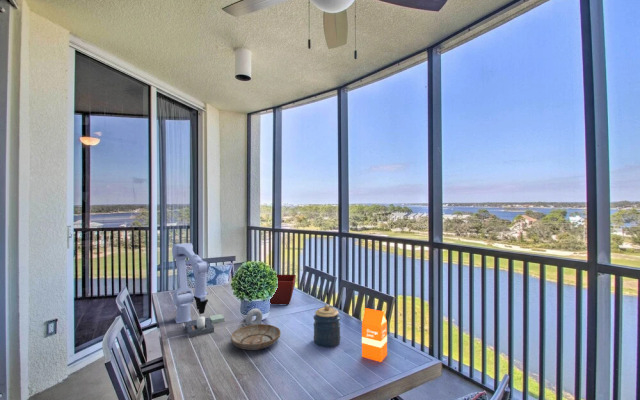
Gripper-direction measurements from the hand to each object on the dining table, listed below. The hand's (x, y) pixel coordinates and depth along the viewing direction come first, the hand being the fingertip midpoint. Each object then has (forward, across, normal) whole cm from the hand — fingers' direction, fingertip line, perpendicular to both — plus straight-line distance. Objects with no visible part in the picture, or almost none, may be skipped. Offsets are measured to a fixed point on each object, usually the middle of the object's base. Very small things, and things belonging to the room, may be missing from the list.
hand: (200, 311), depth 157 cm
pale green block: (+10, +11, -10) cm, 18 cm away
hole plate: (+10, +3, 0) cm, 11 cm away
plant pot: (+11, +23, -55) cm, 61 cm away
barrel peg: (+10, 0, 0) cm, 10 cm away
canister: (+11, -44, -51) cm, 68 cm away
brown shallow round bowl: (+11, -28, -21) cm, 37 cm away
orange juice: (+11, -66, -62) cm, 91 cm away
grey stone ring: (+11, -9, -26) cm, 29 cm away
